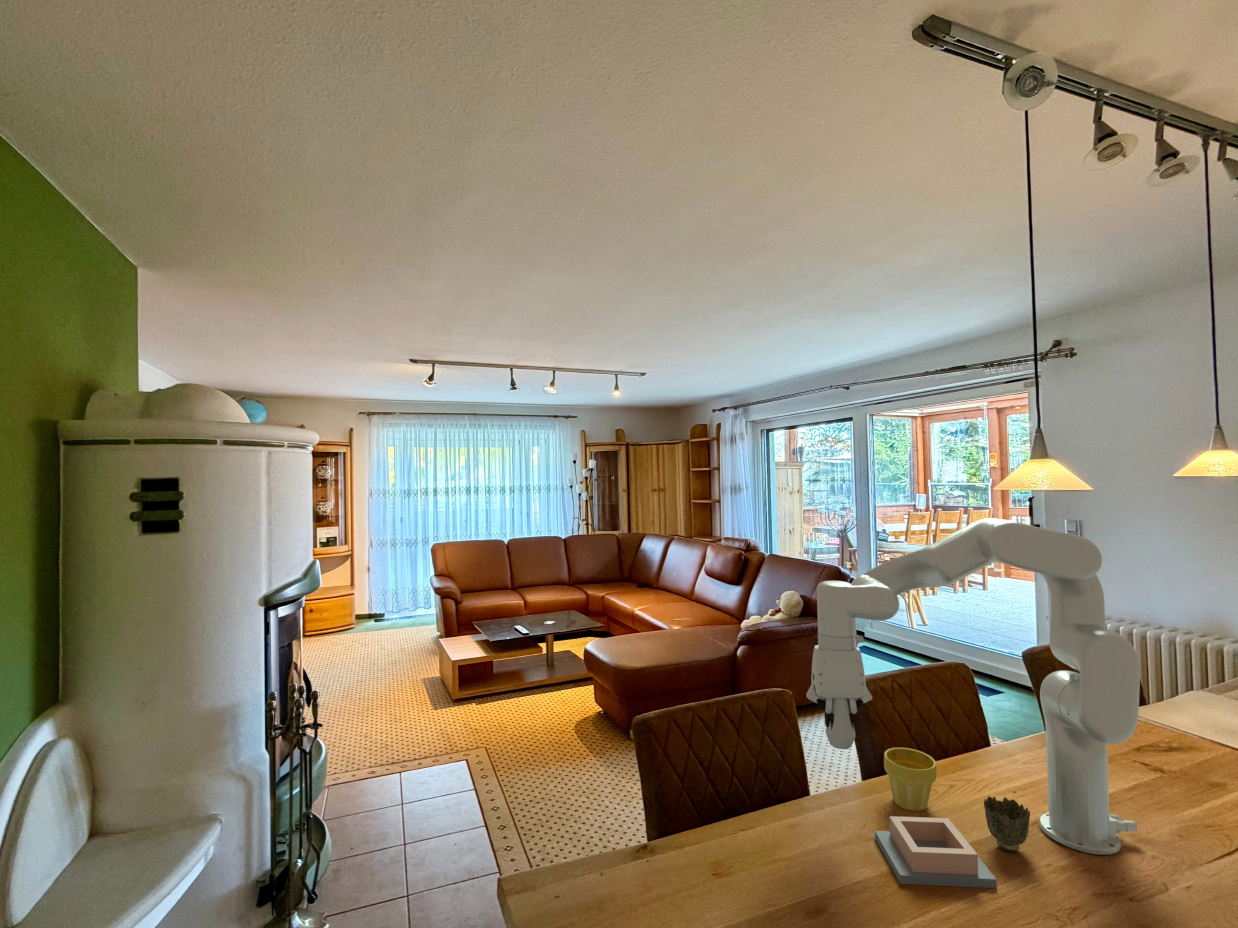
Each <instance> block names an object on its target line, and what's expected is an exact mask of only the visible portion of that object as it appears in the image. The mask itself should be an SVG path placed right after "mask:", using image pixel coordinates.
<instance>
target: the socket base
mask: <svg viewBox="0 0 1238 928" xmlns="http://www.w3.org/2000/svg"><path fill="white" fill-rule="evenodd" d="M874 839H875V841H876V843H877V844H878V846H879V848H880V850H881V851H882V853H883V856H884V857H885V859H886V860H887V862H888V865H889V866H890V868H891V869H892V871H893V873H894V875H895V876H896V879H897V880H898V882H899V884H900V885H917V886H919V885H920V886H938V887H939V886H944V887H961V888H962V887H965V888H984V889H985V888H986V889H988V888H989V889H997V887H998V885H997V878H996V877H995V875H993V873H992V872H991V871H990V870H989V868H988V867H987V866H986V865H985V863H984V862H983V861H982V860H981V858H980V857H979V856H978V855H979V854H978V853H977V852H976V850H975V849H974V848H973V847H972V845H971V844H970V843H969V841H968V840H966V838H965V837H964V836H963V834H962V833H961V832H960V831H959V829H958V828H957V827H956V826H955V825H954V824H953V822H952V821H951V819H950V818H948V817H947V818H945V817H921V816H919V817H918V816H894V815H893V816H892V815H890V816H889V831H887V830H875V831H874Z"/></svg>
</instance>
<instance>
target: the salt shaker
mask: <svg viewBox="0 0 1238 928" xmlns="http://www.w3.org/2000/svg"><path fill="white" fill-rule="evenodd" d="M832 713H833V714H834V723H833V727H832V731H831V723H830V724H829V727H826V726H825V736H826V737H827V740H828V742H829V745H830V746H832V748H836V749H837V750H848V749H850V748H851V747H853V744H854V742H855V739H856V730H855V728H854V726H853V729H852V725H851V721H850V716H849V713H850V707H849V702H848V699H837V698H832Z"/></svg>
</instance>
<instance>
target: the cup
mask: <svg viewBox="0 0 1238 928" xmlns="http://www.w3.org/2000/svg"><path fill="white" fill-rule="evenodd" d="M983 807H984V813H985V819H986V825H987V828H988V830H989V832H990V834H991V835H992V837H993V838H994V839H996V840H995V842H996V845H997V847H998V848H999V849H1001V850H1002V851H1003V852H1007V853H1018V851H1019V850H1020V845H1023V844H1024V843H1025V842H1026V840H1027V837H1028V835H1029V828H1030V820H1031V812H1030V810H1029V808H1028V807H1026V808H1025V806H1024V805H1023V803H1021V804H1019V803H1018V802H1017V801H1016V799H1008V798H1007V797H1003V799H1002V800H1001V799H999V800H998V799H996V796H990V795H989V796H987V798H984V800H983Z"/></svg>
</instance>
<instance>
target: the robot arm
mask: <svg viewBox="0 0 1238 928" xmlns="http://www.w3.org/2000/svg"><path fill="white" fill-rule="evenodd" d="M1102 557H1103V556H1102V553H1101V551H1100V549H1099V547H1098V546H1097V545H1096V544H1095V543H1094V542H1093V541H1091V540H1090V539H1088V538H1086V537H1084V536H1081V535H1077V534H1072V533H1071V534H1070V533H1066V532H1063V531H1058V530H1057V531H1056V530H1053V529H1048V528H1044V527H1038V526H1034V525H1030V524H1027V523H1023V522H1020V521H1015V520H1011V519H1002V518H995V517H985V518H982V519H978V520H976V521H973V522H972V523H970V524H967V525H966V526H964V527H962V528H960V529H959V530H956V531H954V532H953V533H950V534H949V535H947V536H945V537H943V538H941V539H939V540H937V541H935V542H933V543H932V544H930V545H927V546H925V547H923V548H921V549H918V550H915V551H911V552H909V553H907V554H905V555H902V556H899V557H896V558H892V559H890V560H888V561H886V562H883V563H880V564H879V565H877V566H875V567H873V568H871V569H870V570H867V571H866V572H863V573H862V574H860V575H858V576H857V577H855V578H854V580H852V582H847V581H843V580H824V581H822V582H819V583H818V585H817V588H816V603H817V605H816V607H817V610H816V611H817V612H816V613H817V635H818V636H817V640H818V641H817V645H814V648H813V652H812V661H811V684H810V686H809V688H808V689H807V692H806V698H807V699H808V700H809V701H811V702H813V703H815V704H816V705H817V706H819V707H820V708H821V709H823V711H824V726H825V728H826V727H829V724H830V723H831V731H832V727H833V723H834V714H833V713H832V698H837V699H848V702H849V707H850V713H849V716H850V721H851V725H852V729H853V726H854V729H856V714H857V712H858V710H859V709H860V708H861V707H862V706H863V705H864V704H865V703H868V702H870V701H872V700H873V696H872V694H871V692H870V691H869V689H868V687H867V685H866V677H865V667H864V662H863V657H862V653H861V649H860V647H859V644H860V643H864V641H865V639H864V636H863V635H859V634H857V619H861V620H869V621H874V622H875V621H876V622H885V621H888V620H890V619H892V618H894V617H895V616H896V614H897V613H898V611H899V609H900V599H899V598H898V596H899V595H900V594H904V593H906V592H908V591H912V590H917V589H924V588H939V587H940V588H941V587H947V586H951V585H953V584H955V583H957V582H959V581H960V580H963V579H964V578H966V577H969V576H970V575H972V574H974V573H976V572H977V571H980V570H982V569H984V568H986V567H988V566H989V565H992V564H994V563H999V564H1003V565H1007V566H1010V567H1014V568H1017V569H1021V570H1024V571H1025V570H1026V571H1029V572H1033V573H1036V574H1040V575H1041V576H1042V578H1043V579H1044V580H1045V582H1046V584H1047V587H1048V589H1049V590H1048V591H1049V597H1050V619H1049V620H1050V621H1049V648H1050V651H1051V653H1052V654H1053V656H1054V657H1055V658H1056V659H1057V660H1058V661H1059V662H1062V663H1063V664H1065V665H1067V666H1069V667H1070V668H1072V669H1074V670H1076V671H1078V672H1079V673H1078V672H1076V671H1071V670H1056V671H1053V672H1051V673H1049V674H1048V675H1047V676H1045V678H1044V679H1043V680H1042V682H1041V685H1040V688H1039V689H1040V690H1039V699H1040V705H1041V709H1042V714H1043V718H1044V719H1043V720H1044V725H1045V733H1046V734H1045V736H1046V737H1045V738H1046V764H1047V765H1046V767H1047V769H1046V770H1047V772H1046V773H1047V796H1048V797H1047V801H1048V803H1047V804H1048V805H1047V806H1048V812H1045V813H1043V814H1042V815H1041V816H1040V817H1039V827H1040V829H1041V831H1042V832H1043V833H1044V834H1046V835H1047V836H1048V837H1049V838H1050V839H1052V840H1053V841H1055V842H1057V843H1059V844H1060V845H1062V846H1065V847H1068V848H1069V849H1072V850H1075V851H1080V852H1083V853H1085V854H1092V855H1099V856H1100V855H1101V856H1102V855H1103V856H1105V855H1106V856H1109V855H1114V854H1116V853H1118V852H1119V851H1120V850H1121V848H1122V846H1121V843H1122V842H1121V839H1120V837H1119V836H1118V835H1117V834H1120V833H1121V832H1126V833H1137V832H1138V826H1137V824H1136V822H1135V821H1134V820H1128V819H1127V820H1126V819H1125V820H1124V819H1122V820H1120V819H1121V818H1120V817H1119V815H1118V814H1110V802H1109V801H1110V800H1109V799H1110V798H1109V796H1110V795H1109V776H1108V775H1109V769H1108V768H1109V767H1108V766H1109V765H1108V761H1109V760H1108V758H1109V757H1108V750H1107V749H1108V748H1107V745H1117V744H1121V743H1124V742H1126V741H1128V740H1129V738H1131V737H1132V736H1133V734H1135V731H1136V728H1137V726H1138V722H1139V721H1138V720H1139V715H1140V714H1139V711H1140V690H1141V689H1140V687H1141V685H1140V683H1141V682H1140V681H1141V666H1140V665H1141V664H1140V659H1139V655H1138V653H1137V651H1136V649H1135V648H1134V646H1133V644H1132V643H1131V642H1130V641H1129V640H1128V639H1127V638H1126V637H1125V636H1123V635H1121V634H1120V633H1118V632H1116V631H1113V630H1111V629H1108V628H1107V627H1106V613H1105V612H1106V611H1105V608H1106V607H1105V594H1104V590H1103V587H1102V583H1101V581H1100V579H1099V576H1098V575H1097V573H1098V572H1099V571H1100V569H1101V567H1102V564H1103V563H1102V561H1103V558H1102Z"/></svg>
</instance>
